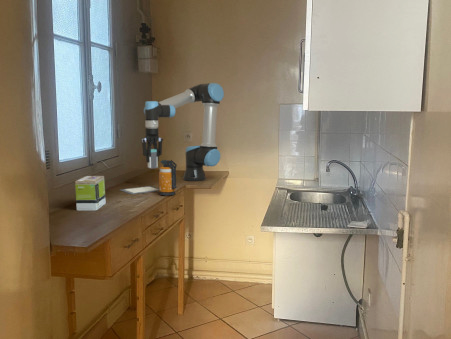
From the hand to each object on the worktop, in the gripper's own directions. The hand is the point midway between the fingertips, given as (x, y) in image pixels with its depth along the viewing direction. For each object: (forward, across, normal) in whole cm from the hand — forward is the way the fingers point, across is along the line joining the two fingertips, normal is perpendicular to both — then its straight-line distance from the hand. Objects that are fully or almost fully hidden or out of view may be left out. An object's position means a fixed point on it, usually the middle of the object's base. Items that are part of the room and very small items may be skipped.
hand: (152, 167), depth 260 cm
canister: (+14, 0, -18) cm, 23 cm away
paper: (+14, -6, +4) cm, 16 cm away
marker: (0, 0, 0) cm, 0 cm away
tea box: (+14, -46, -22) cm, 53 cm away
